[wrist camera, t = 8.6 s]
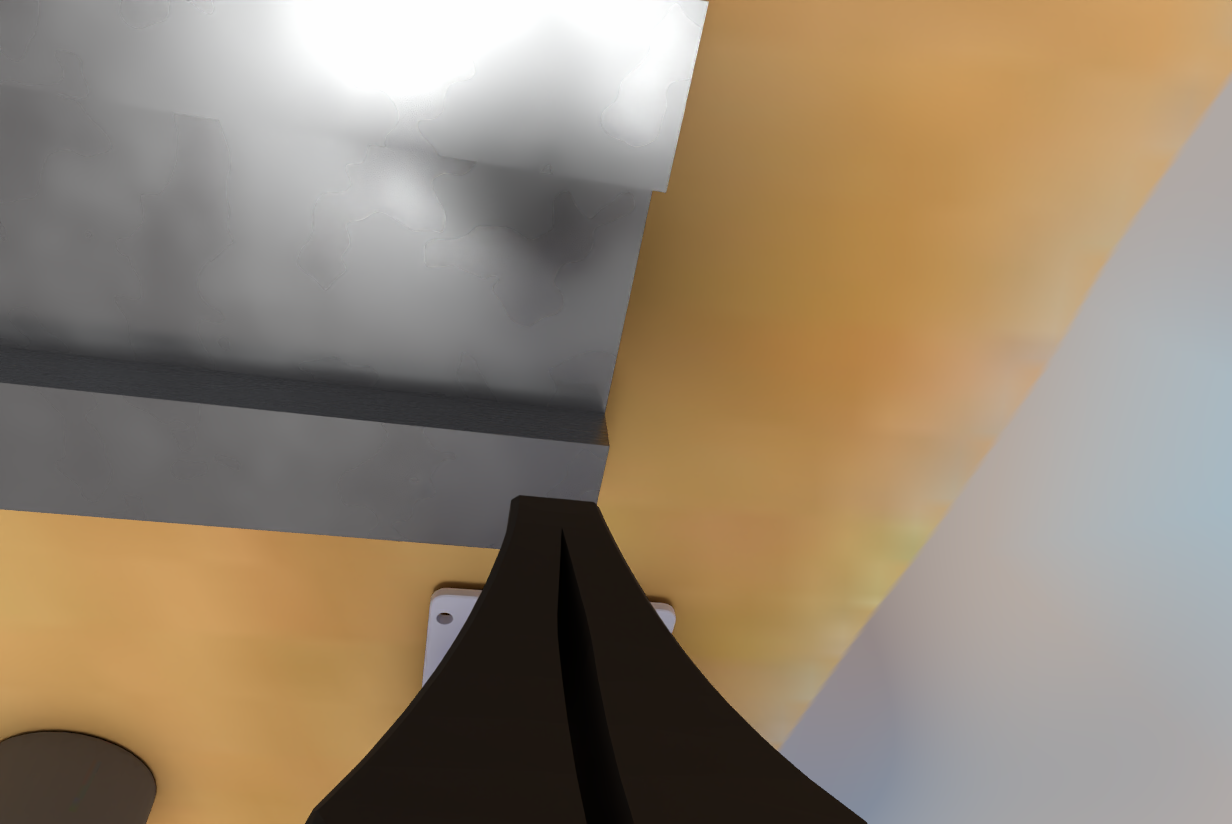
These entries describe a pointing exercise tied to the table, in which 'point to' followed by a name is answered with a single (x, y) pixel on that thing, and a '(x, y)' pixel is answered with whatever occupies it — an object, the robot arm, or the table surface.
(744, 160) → the table surface
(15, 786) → the bottle
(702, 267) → the table surface
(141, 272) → the slotted plate
